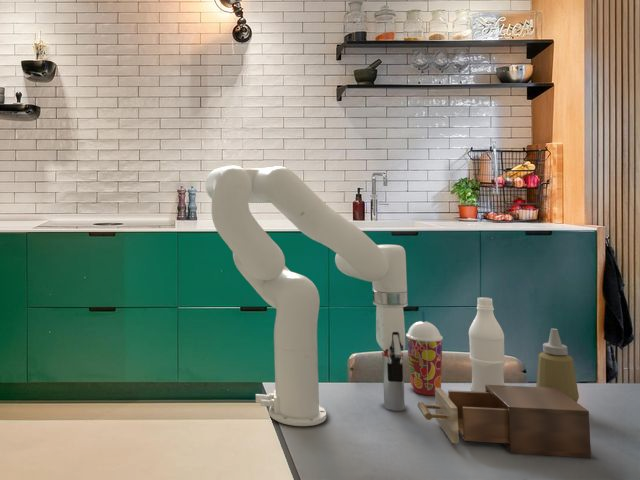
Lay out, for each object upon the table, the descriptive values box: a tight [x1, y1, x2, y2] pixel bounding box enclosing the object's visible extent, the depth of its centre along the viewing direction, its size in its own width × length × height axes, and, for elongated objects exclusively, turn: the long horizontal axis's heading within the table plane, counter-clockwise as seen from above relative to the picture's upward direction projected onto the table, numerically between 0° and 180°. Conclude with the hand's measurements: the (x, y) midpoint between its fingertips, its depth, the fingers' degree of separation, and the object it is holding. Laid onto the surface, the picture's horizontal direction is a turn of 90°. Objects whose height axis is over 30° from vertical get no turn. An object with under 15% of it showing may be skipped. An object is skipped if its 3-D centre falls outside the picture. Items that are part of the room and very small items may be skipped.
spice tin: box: [381, 350, 406, 412], centre depth 130 cm, size 5×5×12 cm
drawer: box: [417, 387, 509, 444], centre depth 114 cm, size 17×11×7 cm
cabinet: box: [485, 385, 592, 459], centre depth 112 cm, size 14×13×9 cm
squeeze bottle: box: [535, 328, 580, 403], centre depth 128 cm, size 8×8×18 cm
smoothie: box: [405, 309, 443, 396], centre depth 140 cm, size 8×8×20 cm
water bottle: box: [468, 296, 506, 392], centre depth 129 cm, size 7×7×25 cm
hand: (393, 376), depth 130 cm, fingers closed on spice tin, 4 cm apart
